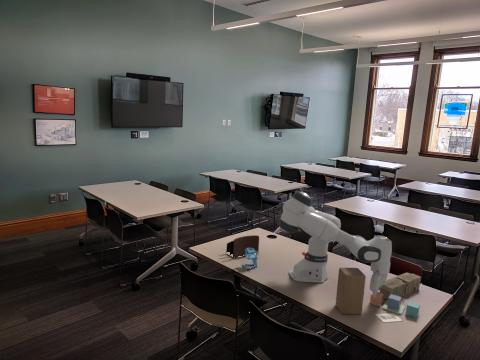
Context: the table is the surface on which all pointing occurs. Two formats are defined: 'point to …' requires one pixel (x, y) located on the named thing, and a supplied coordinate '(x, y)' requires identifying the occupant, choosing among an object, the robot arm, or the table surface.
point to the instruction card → (388, 317)
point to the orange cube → (376, 299)
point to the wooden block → (350, 290)
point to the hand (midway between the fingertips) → (377, 293)
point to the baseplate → (394, 305)
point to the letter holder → (243, 245)
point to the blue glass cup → (251, 257)
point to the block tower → (401, 285)
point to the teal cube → (412, 309)
